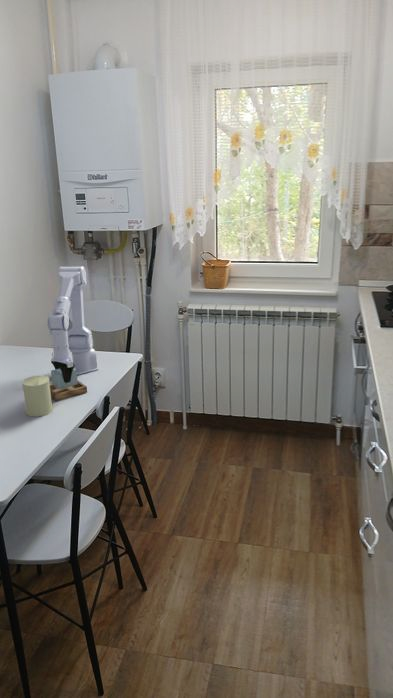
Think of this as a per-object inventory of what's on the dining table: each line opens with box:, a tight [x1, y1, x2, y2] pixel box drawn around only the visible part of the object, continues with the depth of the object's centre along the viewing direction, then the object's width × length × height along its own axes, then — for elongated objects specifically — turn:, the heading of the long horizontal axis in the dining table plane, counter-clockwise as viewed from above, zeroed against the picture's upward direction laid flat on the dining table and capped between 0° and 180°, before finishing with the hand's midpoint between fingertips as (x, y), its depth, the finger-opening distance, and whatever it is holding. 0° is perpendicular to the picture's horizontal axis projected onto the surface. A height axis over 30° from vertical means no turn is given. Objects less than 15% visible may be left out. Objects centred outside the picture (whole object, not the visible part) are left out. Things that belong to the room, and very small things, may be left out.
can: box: [21, 375, 54, 417], centre depth 191 cm, size 9×9×12 cm
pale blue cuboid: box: [50, 368, 79, 389], centre depth 205 cm, size 8×5×6 cm, turn 127°
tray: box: [50, 380, 88, 402], centre depth 207 cm, size 13×11×2 cm
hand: (64, 379), depth 205 cm, fingers closed on pale blue cuboid, 5 cm apart
